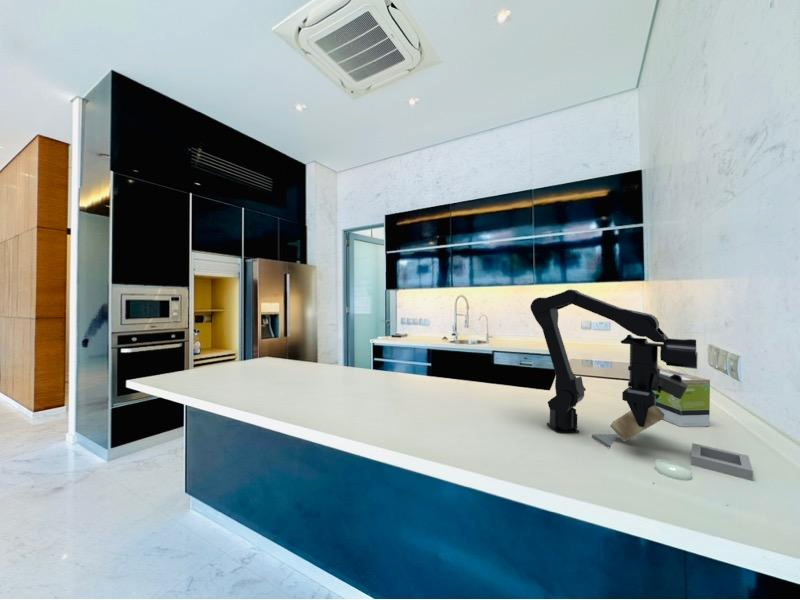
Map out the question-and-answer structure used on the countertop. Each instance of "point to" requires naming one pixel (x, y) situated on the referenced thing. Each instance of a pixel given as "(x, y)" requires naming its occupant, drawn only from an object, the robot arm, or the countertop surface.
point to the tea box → (686, 402)
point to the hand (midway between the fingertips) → (642, 424)
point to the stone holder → (722, 461)
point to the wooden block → (635, 423)
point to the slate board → (605, 438)
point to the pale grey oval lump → (673, 469)
